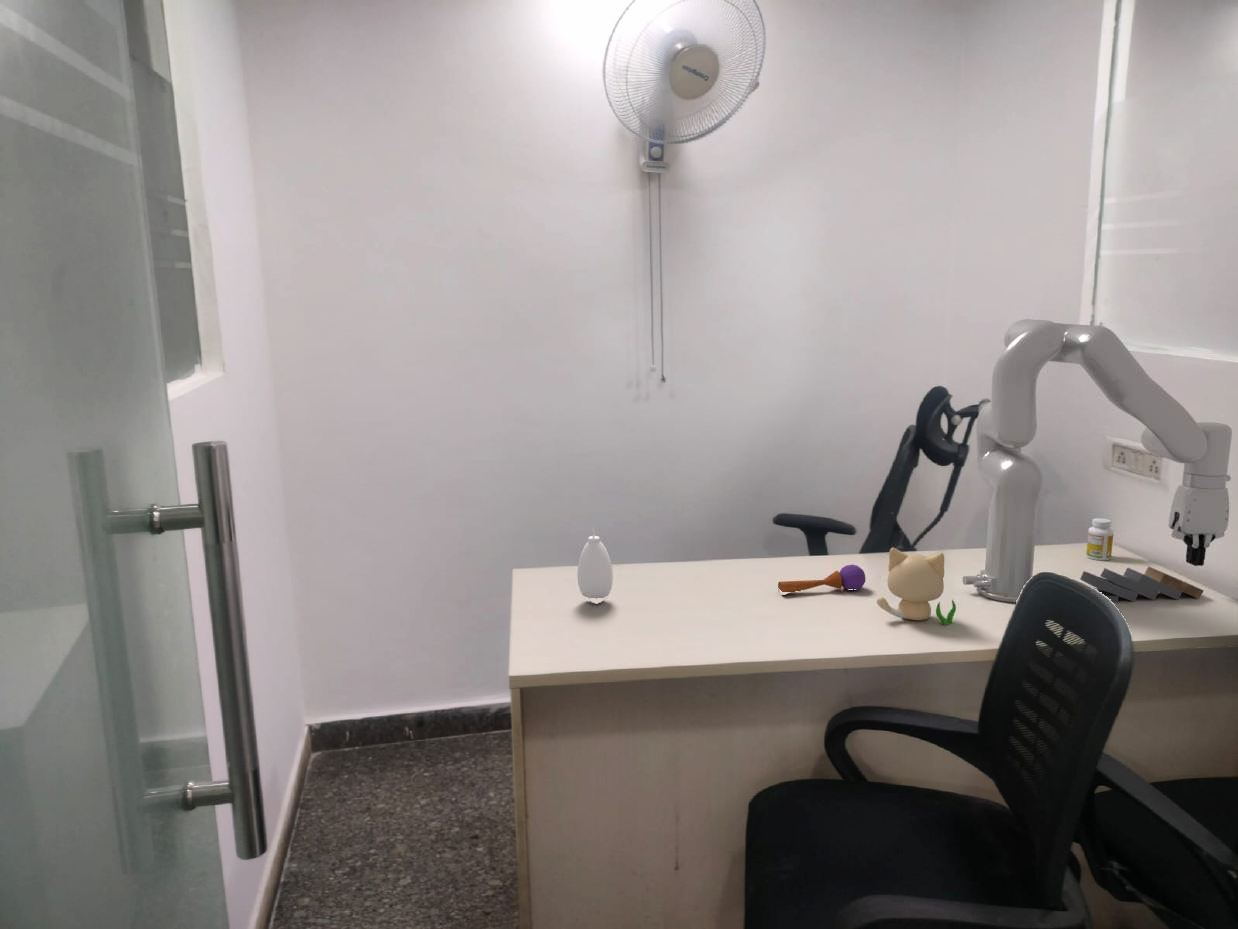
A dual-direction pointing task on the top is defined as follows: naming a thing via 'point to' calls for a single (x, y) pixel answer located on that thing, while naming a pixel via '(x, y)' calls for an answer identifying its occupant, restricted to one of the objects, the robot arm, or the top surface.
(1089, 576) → the domino
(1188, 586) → the domino
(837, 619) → the top surface
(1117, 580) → the domino
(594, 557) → the white tall oval piece
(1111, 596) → the domino
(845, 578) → the kendama
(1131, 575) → the domino
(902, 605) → the kitten
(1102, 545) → the supplement bottle
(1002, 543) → the robot arm
